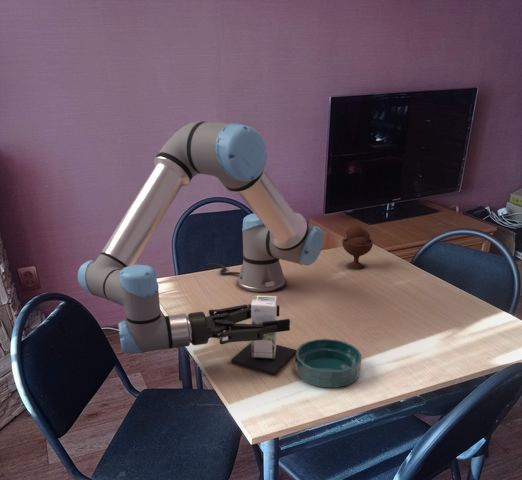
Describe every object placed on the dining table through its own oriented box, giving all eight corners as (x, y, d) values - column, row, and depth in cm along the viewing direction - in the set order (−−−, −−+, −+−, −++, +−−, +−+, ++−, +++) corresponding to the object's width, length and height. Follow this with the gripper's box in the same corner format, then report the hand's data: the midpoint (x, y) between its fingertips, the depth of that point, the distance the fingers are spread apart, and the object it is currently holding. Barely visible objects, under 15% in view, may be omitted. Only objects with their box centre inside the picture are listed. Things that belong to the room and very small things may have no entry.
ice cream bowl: (364, 274, 174) (368, 231, 167) (335, 268, 179) (338, 226, 172) (375, 264, 182) (380, 223, 175) (347, 259, 187) (350, 219, 180)
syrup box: (276, 348, 127) (277, 294, 120) (274, 360, 122) (275, 305, 114) (254, 347, 127) (253, 293, 120) (251, 358, 122) (250, 304, 115)
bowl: (284, 377, 117) (284, 361, 115) (311, 349, 129) (311, 333, 127) (346, 395, 111) (347, 378, 109) (368, 364, 123) (370, 348, 120)
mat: (231, 363, 123) (230, 359, 123) (255, 342, 132) (255, 338, 132) (274, 375, 118) (274, 372, 118) (296, 353, 127) (296, 349, 127)
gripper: (183, 325, 126) (271, 314, 131) (197, 365, 109) (297, 351, 115) (181, 297, 122) (271, 287, 128) (195, 335, 105) (298, 321, 111)
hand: (283, 317), depth 121 cm, fingers closed on syrup box, 7 cm apart
